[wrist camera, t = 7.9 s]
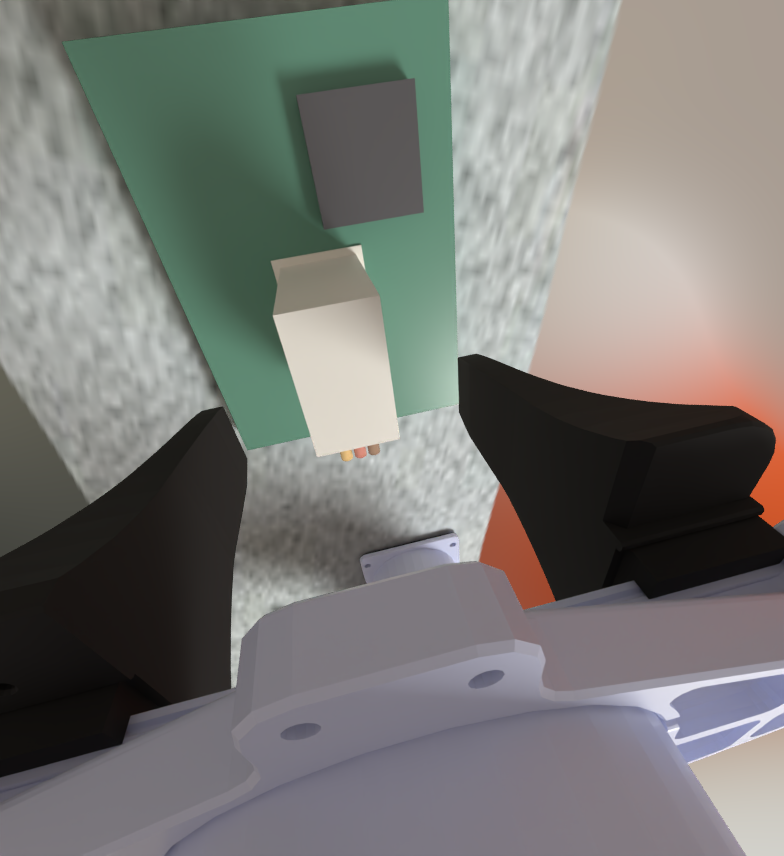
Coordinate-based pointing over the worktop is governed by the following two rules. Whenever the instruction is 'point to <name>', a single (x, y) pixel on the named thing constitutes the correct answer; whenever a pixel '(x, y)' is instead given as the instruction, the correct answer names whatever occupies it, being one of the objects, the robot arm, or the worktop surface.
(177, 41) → the circuit board
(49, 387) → the worktop surface
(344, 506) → the worktop surface
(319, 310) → the block
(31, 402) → the worktop surface
